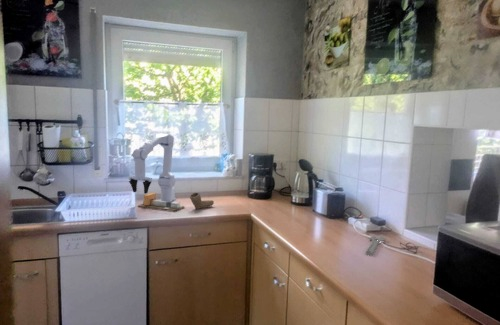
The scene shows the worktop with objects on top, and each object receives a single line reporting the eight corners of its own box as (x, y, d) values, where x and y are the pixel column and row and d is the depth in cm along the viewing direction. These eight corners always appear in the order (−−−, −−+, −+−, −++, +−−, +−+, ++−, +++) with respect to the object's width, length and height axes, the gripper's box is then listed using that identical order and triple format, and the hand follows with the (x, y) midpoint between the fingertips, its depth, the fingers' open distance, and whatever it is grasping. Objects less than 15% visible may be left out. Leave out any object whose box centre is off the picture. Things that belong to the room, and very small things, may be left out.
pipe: (216, 207, 215) (216, 191, 214) (193, 211, 204) (193, 194, 202) (210, 205, 219) (210, 189, 218) (187, 209, 208) (187, 192, 207)
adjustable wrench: (371, 257, 142) (371, 253, 142) (356, 253, 146) (356, 249, 145) (386, 240, 163) (386, 237, 162) (372, 238, 166) (372, 234, 166)
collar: (144, 204, 209) (144, 195, 209) (151, 202, 217) (151, 192, 216) (148, 205, 208) (148, 195, 208) (155, 202, 216) (155, 193, 215)
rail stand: (138, 206, 209) (138, 200, 209) (147, 203, 219) (147, 197, 218) (175, 211, 201) (175, 204, 201) (184, 207, 211) (184, 201, 210)
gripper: (125, 169, 200) (125, 192, 202) (146, 171, 195) (146, 195, 197) (132, 168, 207) (133, 190, 208) (153, 169, 202) (154, 192, 204)
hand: (140, 192), depth 203 cm, fingers open, 7 cm apart
